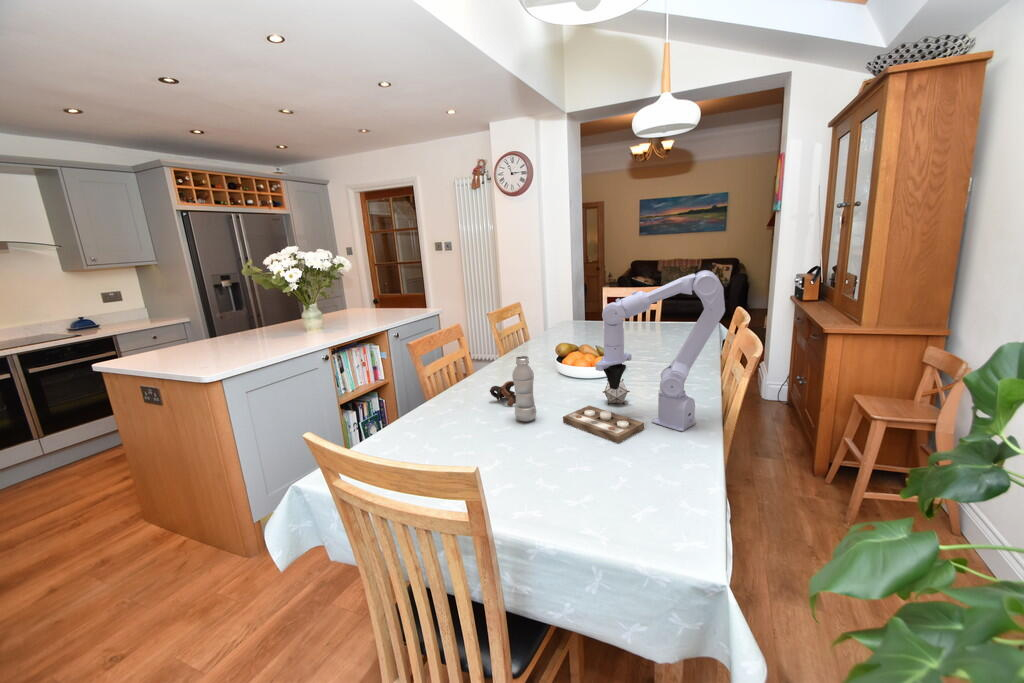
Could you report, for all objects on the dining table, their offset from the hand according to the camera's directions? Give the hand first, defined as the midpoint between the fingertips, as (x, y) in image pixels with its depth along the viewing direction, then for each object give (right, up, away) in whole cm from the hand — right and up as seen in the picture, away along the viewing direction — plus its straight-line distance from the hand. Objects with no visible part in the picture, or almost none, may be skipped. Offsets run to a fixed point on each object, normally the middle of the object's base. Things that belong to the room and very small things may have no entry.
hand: (614, 388), depth 130 cm
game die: (+4, -7, +14) cm, 16 cm away
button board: (-4, -11, -3) cm, 12 cm away
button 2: (+1, -11, -7) cm, 13 cm away
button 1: (-7, -9, +2) cm, 12 cm away
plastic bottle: (-26, -10, +5) cm, 29 cm away
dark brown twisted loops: (-32, -7, +21) cm, 39 cm away
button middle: (-3, -9, -2) cm, 10 cm away
